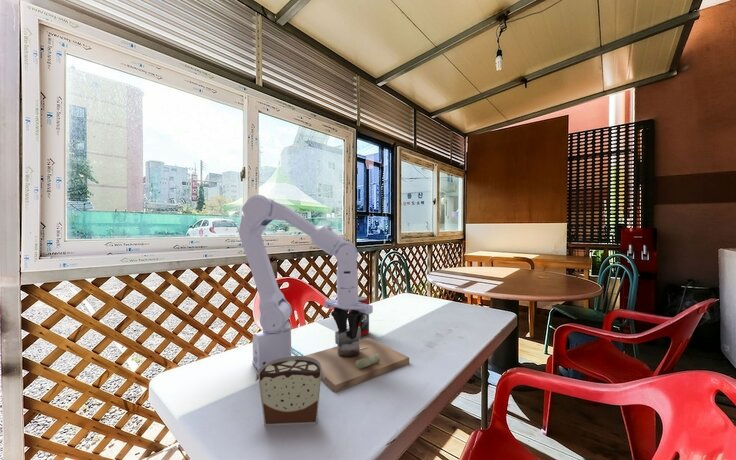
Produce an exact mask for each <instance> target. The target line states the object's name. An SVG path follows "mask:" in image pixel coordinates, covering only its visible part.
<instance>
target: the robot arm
mask: <svg viewBox="0 0 736 460" xmlns="http://www.w3.org/2000/svg"><path fill="white" fill-rule="evenodd" d="M241 212H242V213H241V218H240V222H239V226H238V227H239V229H238V236H239V239H240V242H241V244H242V248H243V251H244V253H245V257H246V260H247V263H248V266H249V268H250V272H251V274H252V278H253V281H254V283H255V286H256V289H257V293H258V295H259V302H258V309H259V311H260V316H259V322H260V323H259V324H260V326H261V328H262V330H260V331H258V332H256V333H255V332H254V333H253V335H252V361H251V362H252V365H254V366H255V368H256V369H257V371H258V370H259V368H261V367H262V366H263V365H265V364H266V363H268V362H270V361H273V360H275V359H278V358H282V357H288V356H292V353H291V347H292V324H291V323H290V321H289V319H290V317H291V316H292V313H293V309H292V305H291V304H290V303H289V302H288V301H287V299H286V297H285V295H284V293H283V292H282V291H281V289H280V288H279V285H278V281H277V278H276V276H275V273H274V269H273V267H272V264H271V261H270V258H269V254H268V252H267V249H266V247H265V246H266V245H265V244H264V243H265V242H264V240H263V236H262V234H263V233H264V231H265V230H266V228H267V226H268V225H269V224H270V223H271V222H272V221H273V222H274V220H276V221H283V222H286V224H287V223H288V224H289V225H291V226H293V227H294V228H295V229H297V230H299V231H301V232H302V233H304V234H306V235H307V236H309V238H310V241H311V244H312V245H314V246H316V248H319V249H321V250H322V251H323V252H325V253H326V254H328V255H329V256H332V257H333V256H335V258H336V259H335V260H336V263H337V264H336V265H337V269H336V299H326V300H324V308H325V309H328V308H331V309H333V310H332V311H330V314H331V317H332V319H334V322H335V324H336V326H337V331H341V330H345V329H349V336H350V339H354V338H356V336H357V331H358V327H359V324H360V321H361V319H362V317H363V315H364V313H366V314H369V315H370V314H372V313H374V311H373V310H374V309H373V304H369V305H368V304H364V303H361V302H358V296H359V274H358V273H359V271H358V270H359V269H358V268H357V267H358V262H357V260H358V258H359V253H358V249H357V247H356V245H355V244H354V243H353V242H351V241H349V240H347V237H345V236H343V237H342V236H341V235H339V234H338V233H336V232H334V231H333V228H332V227H331V226H326V225H319V226H317V225H314V223H312V222H311V221H309V220H307V218H305V217H303V216H302V215H300V214H299V213H298V212H296V211H295V210H293V209H291V208H290V207H288V206H286V205H284V204H282V203H280V202H277V201H275V200H274V199H271V198H268V197H266V196H264V195H262V194H261V195H260V194H255V195H252V196H250V197H249V198H248V199H247V200H246V201H245V203H244V204H243V206H242V207H241ZM349 311H351V312H350V313H349ZM347 322H348V323H347Z"/></svg>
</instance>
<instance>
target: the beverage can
mask: <svg viewBox="0 0 736 460" xmlns="http://www.w3.org/2000/svg"><path fill="white" fill-rule="evenodd" d="M358 302H361V303H364V304H368V305H370V302H369V301H368V298H367V297H366V296H363V295H361V296H360V295H358ZM350 312H351V311H348V313H350ZM359 327H360V328H361V337H364V336H366V335H367V334H368V333H370V314H366V313H364V315H363V317H362V319H361V321H360V324H359Z"/></svg>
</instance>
